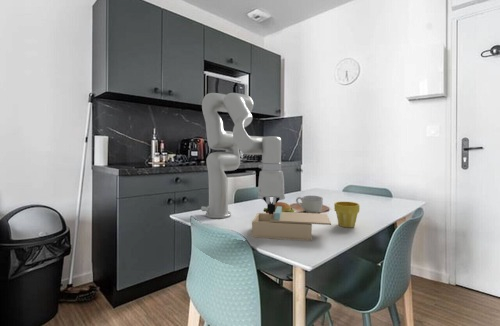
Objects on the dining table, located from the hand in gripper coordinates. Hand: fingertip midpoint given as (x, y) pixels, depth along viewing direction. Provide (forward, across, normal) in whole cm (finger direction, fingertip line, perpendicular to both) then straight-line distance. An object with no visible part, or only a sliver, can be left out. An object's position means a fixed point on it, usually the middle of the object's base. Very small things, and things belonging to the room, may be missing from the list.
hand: (271, 213), depth 108 cm
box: (+8, +4, 0) cm, 9 cm away
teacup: (+8, +16, +39) cm, 43 cm away
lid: (+2, +11, 0) cm, 11 cm away
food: (+8, +1, +22) cm, 24 cm away
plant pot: (+8, +31, +16) cm, 36 cm away
